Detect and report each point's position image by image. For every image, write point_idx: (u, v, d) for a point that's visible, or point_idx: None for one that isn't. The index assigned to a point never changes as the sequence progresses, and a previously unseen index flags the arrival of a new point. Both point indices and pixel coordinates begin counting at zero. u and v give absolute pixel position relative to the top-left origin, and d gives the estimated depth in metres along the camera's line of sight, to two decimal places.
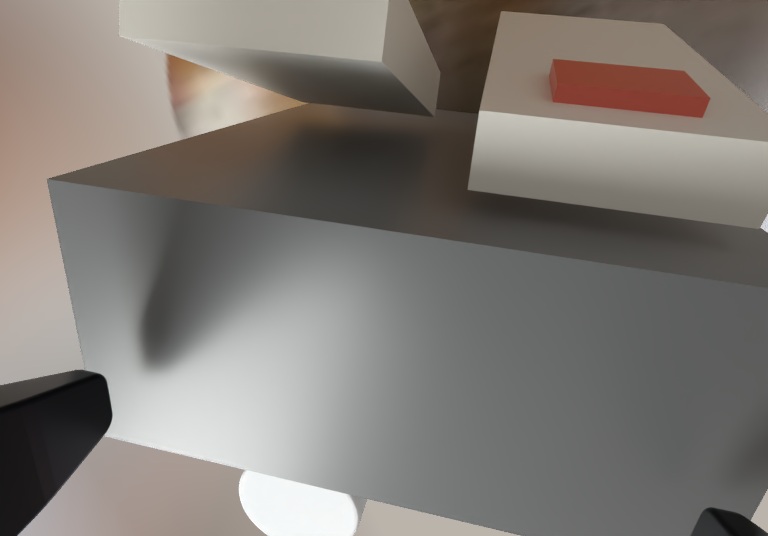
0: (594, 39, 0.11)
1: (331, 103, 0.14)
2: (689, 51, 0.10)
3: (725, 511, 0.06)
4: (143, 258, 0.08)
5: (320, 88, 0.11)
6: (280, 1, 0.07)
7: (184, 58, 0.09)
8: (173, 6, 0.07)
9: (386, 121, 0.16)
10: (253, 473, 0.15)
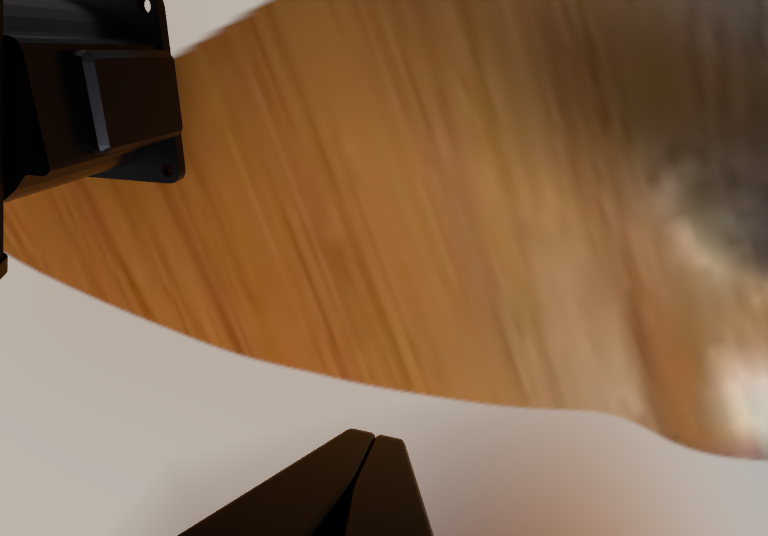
0: None
1: None
2: None
3: (386, 437, 0.07)
4: None
5: None
6: None
7: None
8: None
9: None
10: None
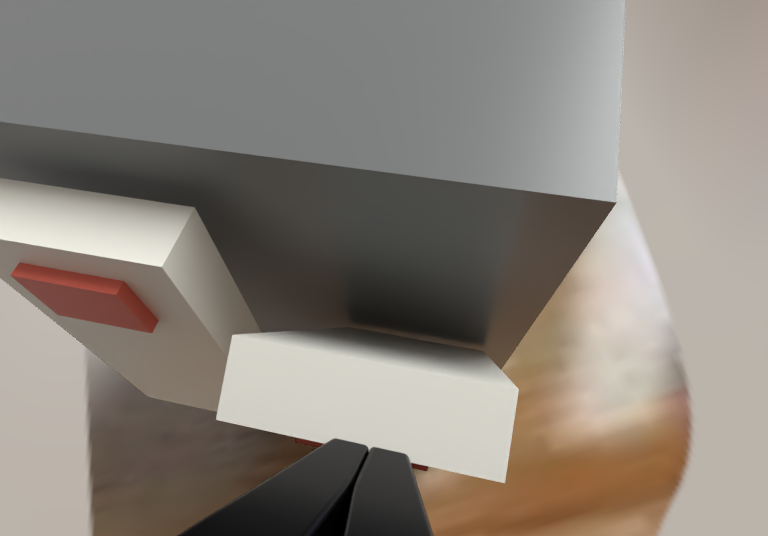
0: (174, 375, 0.12)
1: (445, 345, 0.14)
2: (101, 355, 0.12)
3: None
4: (506, 121, 0.07)
5: (406, 347, 0.11)
6: (327, 402, 0.07)
7: (501, 374, 0.08)
8: (444, 411, 0.07)
9: None
10: None
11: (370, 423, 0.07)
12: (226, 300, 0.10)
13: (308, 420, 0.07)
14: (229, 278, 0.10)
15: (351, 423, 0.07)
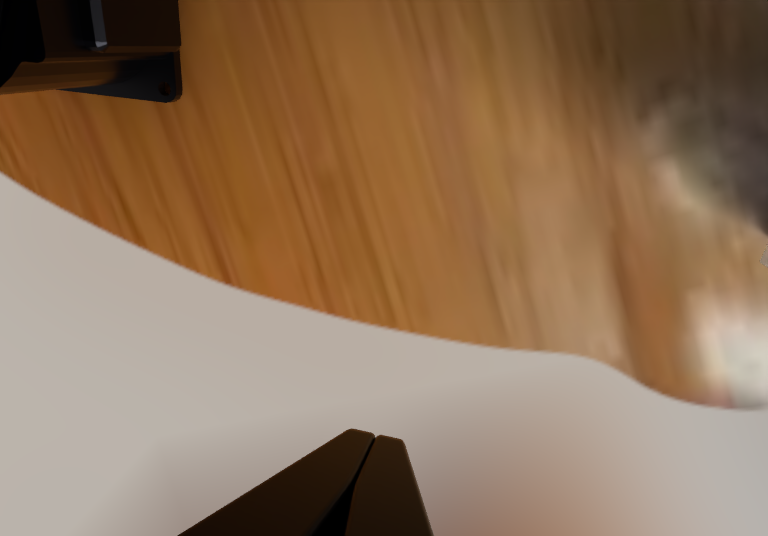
0: None
1: None
2: None
3: (386, 437, 0.07)
4: None
5: None
6: None
7: None
8: None
9: None
10: None
11: None
12: None
13: None
14: None
15: None
